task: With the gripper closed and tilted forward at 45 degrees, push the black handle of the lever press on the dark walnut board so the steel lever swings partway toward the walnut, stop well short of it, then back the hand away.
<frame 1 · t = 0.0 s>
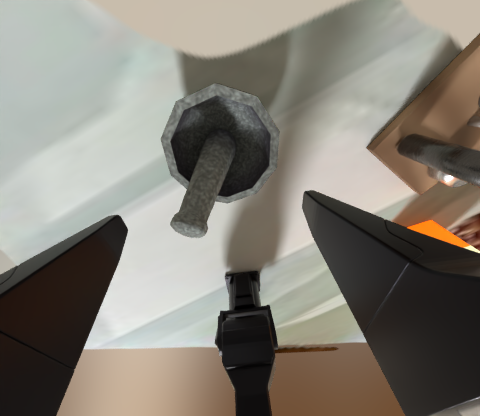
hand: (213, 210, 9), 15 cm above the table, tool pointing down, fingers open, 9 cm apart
mortar and pestle: (220, 139, 21), on the table
lever: (479, 173, 18), point 7 cm above the table, hinge at -12.0°
orange juice: (400, 241, 34), on the table
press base: (433, 159, 25), on the table
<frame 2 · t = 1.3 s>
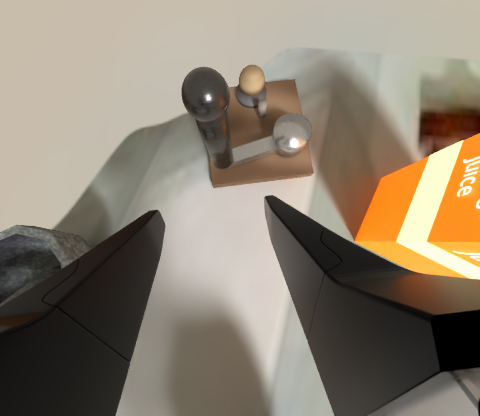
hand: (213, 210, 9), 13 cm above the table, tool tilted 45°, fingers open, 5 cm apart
mortar and pestle: (85, 277, 21), on the table
lever: (262, 120, 16), point 7 cm above the table, hinge at -12.0°
orange juice: (397, 223, 22), on the table
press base: (284, 148, 23), on the table
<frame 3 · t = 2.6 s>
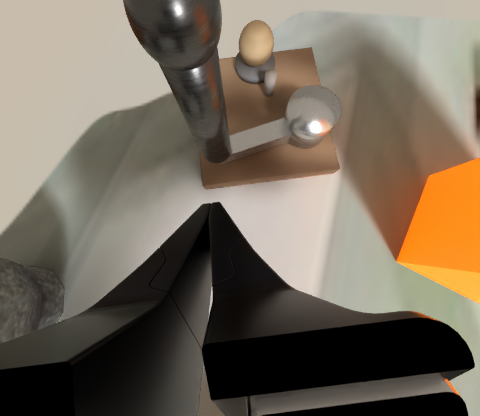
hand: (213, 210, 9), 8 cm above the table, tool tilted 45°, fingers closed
mortar and pestle: (31, 311, 16), on the table
lever: (275, 86, 10), point 7 cm above the table, hinge at -12.0°
orange juice: (453, 237, 16), on the table
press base: (298, 137, 18), on the table
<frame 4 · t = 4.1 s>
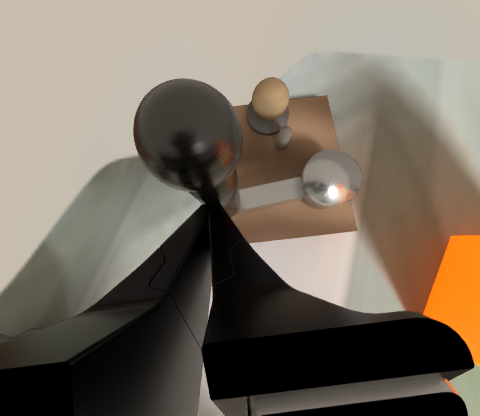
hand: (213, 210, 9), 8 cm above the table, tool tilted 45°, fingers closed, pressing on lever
lever: (294, 168, 10), point 7 cm above the table, hinge at -5.6°, touching gripper
orange juice: (477, 304, 15), on the table
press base: (312, 190, 17), on the table
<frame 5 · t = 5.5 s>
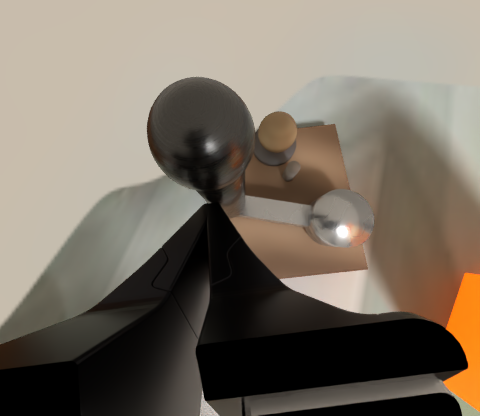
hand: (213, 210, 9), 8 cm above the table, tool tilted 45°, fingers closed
lever: (303, 197, 9), point 7 cm above the table, hinge at 15.7°, touching gripper
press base: (320, 223, 16), on the table
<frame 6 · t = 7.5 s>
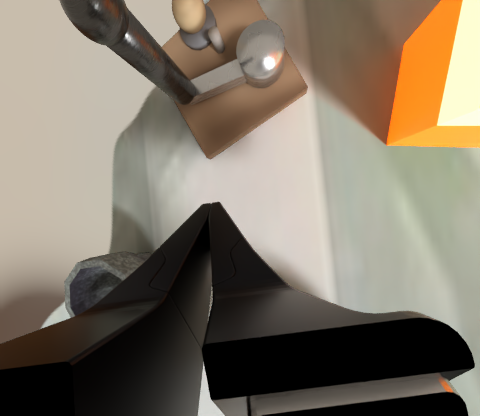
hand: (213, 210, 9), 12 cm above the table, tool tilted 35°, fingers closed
mortar and pestle: (151, 277, 26), on the table
lever: (202, 35, 13), point 7 cm above the table, hinge at 15.7°
orange juice: (442, 96, 16), on the table
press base: (264, 75, 19), on the table
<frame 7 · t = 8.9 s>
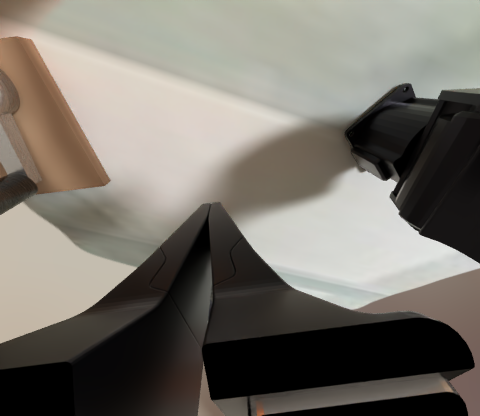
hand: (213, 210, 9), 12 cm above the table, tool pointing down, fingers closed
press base: (6, 85, 15), on the table
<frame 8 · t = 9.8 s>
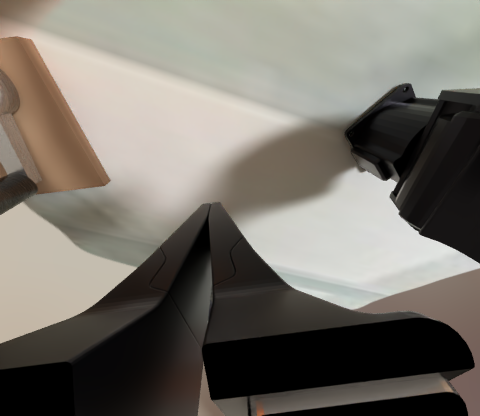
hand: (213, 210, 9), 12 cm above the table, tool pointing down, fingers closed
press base: (6, 85, 15), on the table
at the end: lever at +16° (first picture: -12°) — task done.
